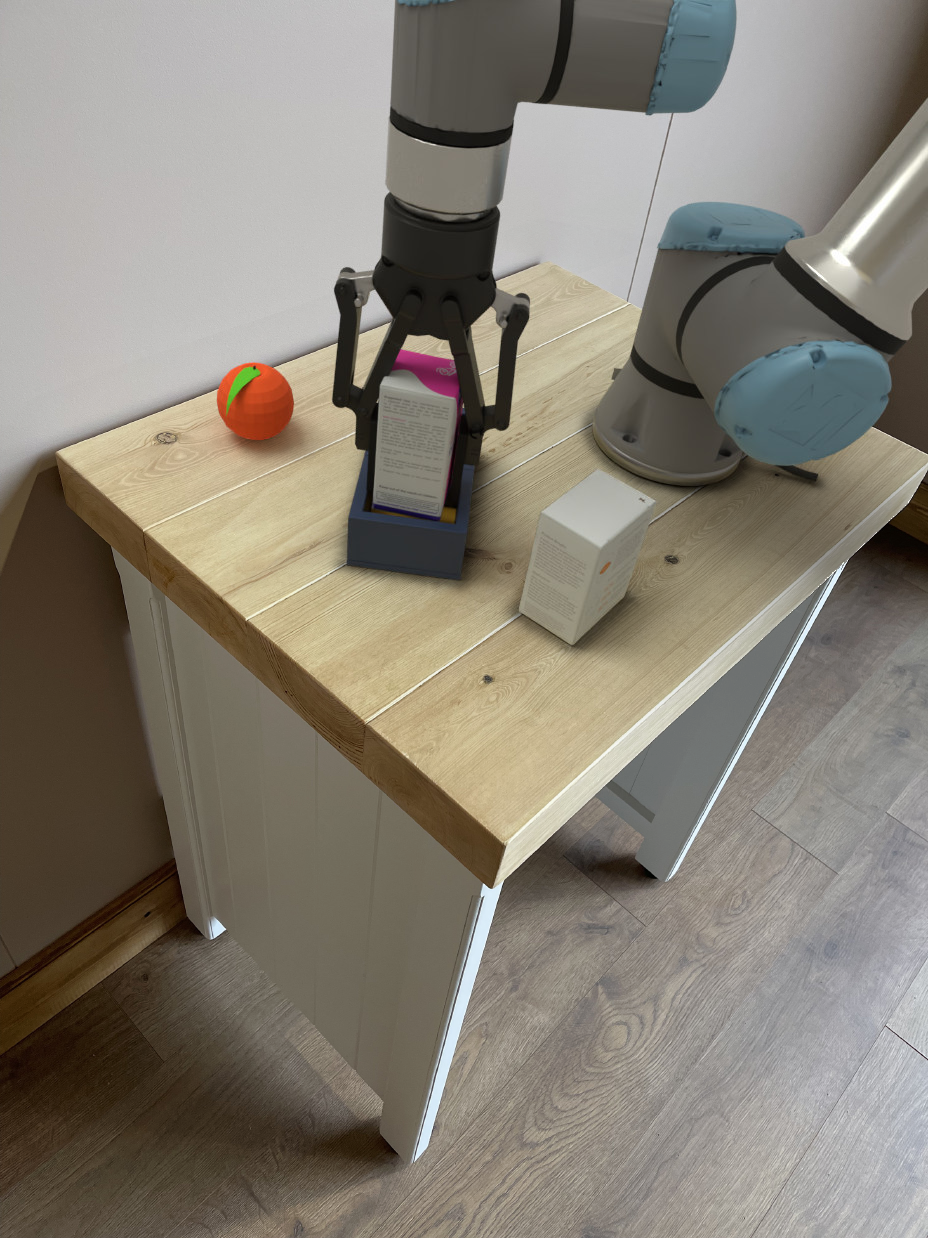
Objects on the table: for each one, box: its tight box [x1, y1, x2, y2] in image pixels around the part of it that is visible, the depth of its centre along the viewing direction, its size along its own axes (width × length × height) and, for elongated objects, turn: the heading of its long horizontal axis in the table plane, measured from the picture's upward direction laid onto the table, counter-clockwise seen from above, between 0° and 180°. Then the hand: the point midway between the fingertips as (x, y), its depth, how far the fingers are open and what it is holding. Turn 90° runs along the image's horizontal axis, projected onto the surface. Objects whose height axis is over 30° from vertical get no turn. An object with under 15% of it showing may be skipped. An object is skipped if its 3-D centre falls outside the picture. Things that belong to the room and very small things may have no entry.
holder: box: [346, 399, 476, 581], centre depth 80 cm, size 18×9×5 cm, turn 176°
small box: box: [518, 468, 658, 646], centre depth 72 cm, size 8×6×10 cm
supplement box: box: [372, 348, 464, 521], centre depth 72 cm, size 6×6×12 cm
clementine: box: [216, 362, 295, 441], centre depth 84 cm, size 8×7×7 cm
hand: (414, 486), depth 75 cm, fingers closed on supplement box, 6 cm apart
